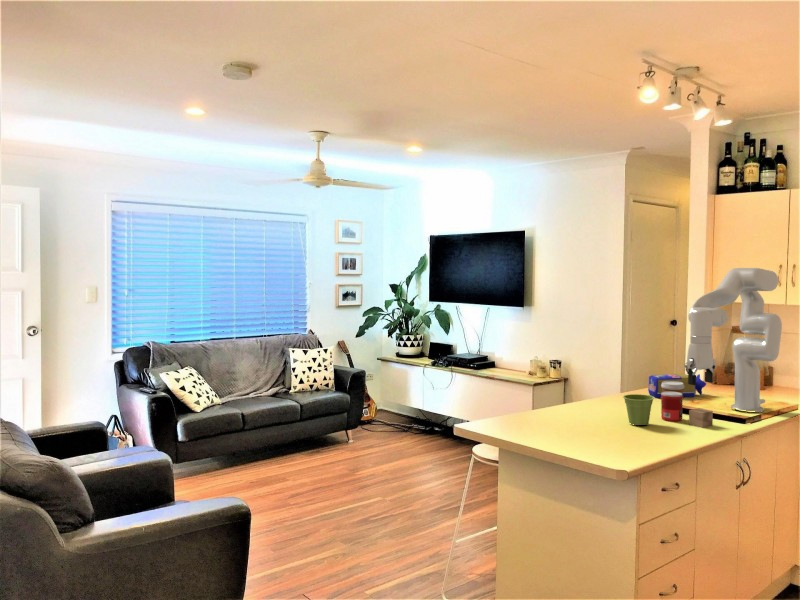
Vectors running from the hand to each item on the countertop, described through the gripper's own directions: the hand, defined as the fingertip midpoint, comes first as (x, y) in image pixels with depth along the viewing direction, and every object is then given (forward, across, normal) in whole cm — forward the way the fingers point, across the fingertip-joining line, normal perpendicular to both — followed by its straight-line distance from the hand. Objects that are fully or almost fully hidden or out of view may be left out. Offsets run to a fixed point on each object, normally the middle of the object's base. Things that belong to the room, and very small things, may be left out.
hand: (700, 383), depth 249 cm
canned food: (+17, +2, -12) cm, 21 cm away
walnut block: (+17, 0, 0) cm, 17 cm away
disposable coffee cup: (+17, -12, -23) cm, 31 cm away
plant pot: (+17, +18, -14) cm, 29 cm away
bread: (+17, -37, -41) cm, 58 cm away
